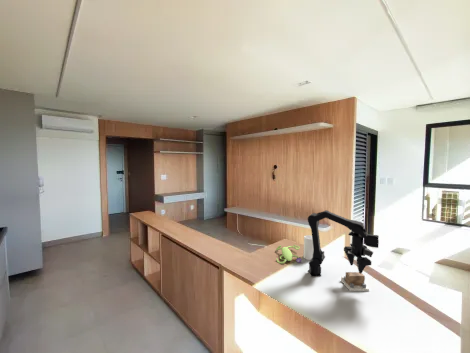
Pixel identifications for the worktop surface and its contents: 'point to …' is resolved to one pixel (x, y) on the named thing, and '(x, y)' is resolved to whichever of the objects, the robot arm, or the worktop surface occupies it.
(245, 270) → the worktop surface
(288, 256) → the figurine
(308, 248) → the cup
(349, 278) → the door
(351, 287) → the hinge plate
